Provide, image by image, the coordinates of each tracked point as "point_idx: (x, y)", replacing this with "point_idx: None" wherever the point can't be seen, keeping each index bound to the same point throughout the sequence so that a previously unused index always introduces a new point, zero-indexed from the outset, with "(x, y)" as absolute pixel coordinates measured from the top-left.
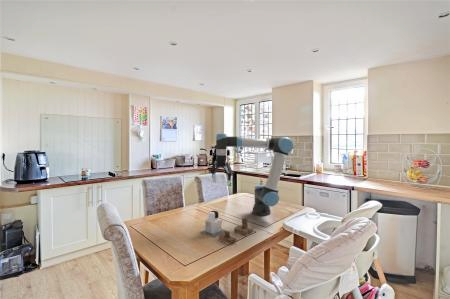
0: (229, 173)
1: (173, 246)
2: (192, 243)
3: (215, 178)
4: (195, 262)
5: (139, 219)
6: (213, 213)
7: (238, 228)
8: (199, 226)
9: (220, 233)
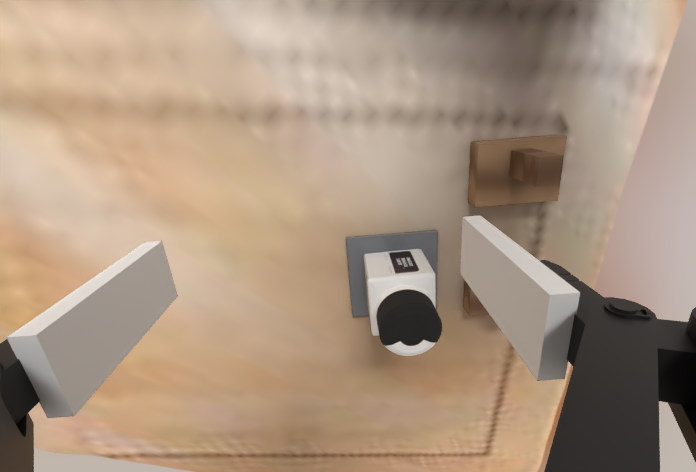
0: (689, 435)
1: (372, 429)
2: (404, 383)
3: (122, 287)
4: (499, 432)
5: (28, 413)
6: (428, 347)
7: (499, 198)
8: (292, 278)
9: (436, 271)
